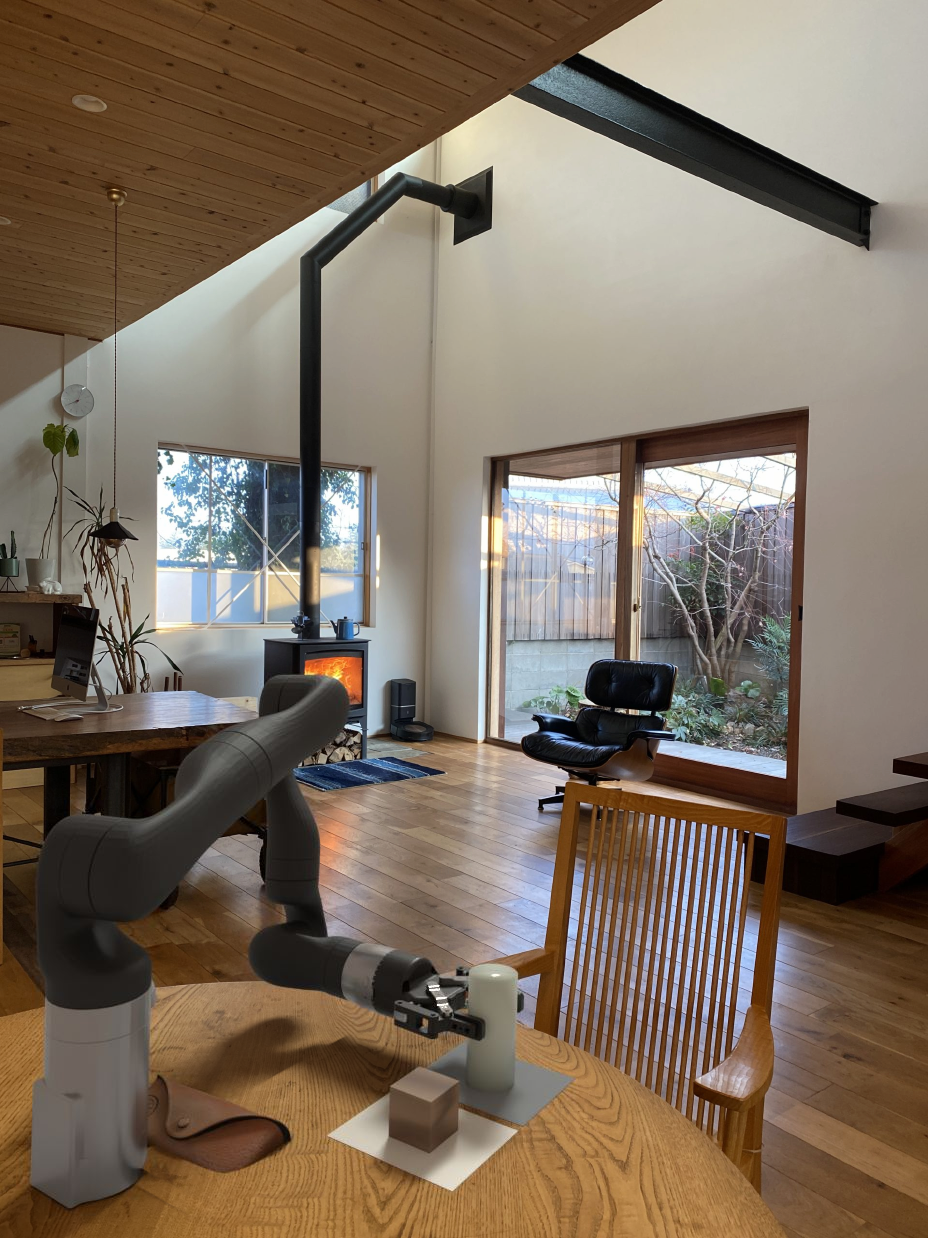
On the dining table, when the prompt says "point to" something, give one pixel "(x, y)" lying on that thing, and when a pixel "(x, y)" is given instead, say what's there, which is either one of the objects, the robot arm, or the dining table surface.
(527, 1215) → the dining table surface
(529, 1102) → the slate mat
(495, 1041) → the pale green pillar candle
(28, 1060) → the dining table surface
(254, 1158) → the sunglasses case
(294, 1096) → the dining table surface
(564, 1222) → the dining table surface
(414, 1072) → the walnut block
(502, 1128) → the cream mat
